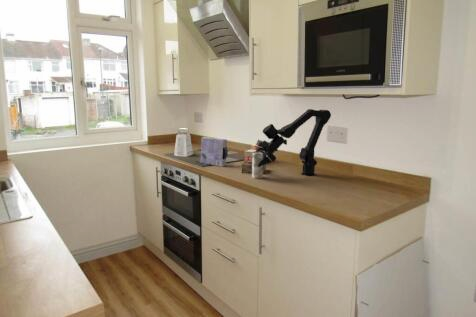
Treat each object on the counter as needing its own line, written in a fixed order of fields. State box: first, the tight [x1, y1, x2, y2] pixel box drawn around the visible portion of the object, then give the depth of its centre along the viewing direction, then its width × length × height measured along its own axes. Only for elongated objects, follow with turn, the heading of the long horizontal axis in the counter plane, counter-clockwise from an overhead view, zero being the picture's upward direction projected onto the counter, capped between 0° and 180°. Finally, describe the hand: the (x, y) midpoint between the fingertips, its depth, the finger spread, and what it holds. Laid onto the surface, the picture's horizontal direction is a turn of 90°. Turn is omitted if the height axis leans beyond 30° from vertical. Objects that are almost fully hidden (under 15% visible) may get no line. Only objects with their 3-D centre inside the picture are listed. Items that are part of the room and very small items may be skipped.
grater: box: [173, 127, 194, 158], centre depth 261 cm, size 10×10×20 cm
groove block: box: [241, 161, 267, 175], centre depth 212 cm, size 13×12×5 cm
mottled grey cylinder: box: [251, 152, 263, 179], centre depth 195 cm, size 5×4×14 cm
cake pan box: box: [200, 136, 229, 168], centre depth 228 cm, size 19×5×18 cm, turn 57°
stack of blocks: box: [243, 143, 262, 163], centre depth 237 cm, size 21×6×12 cm, turn 150°
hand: (255, 164), depth 195 cm, fingers open, 9 cm apart
